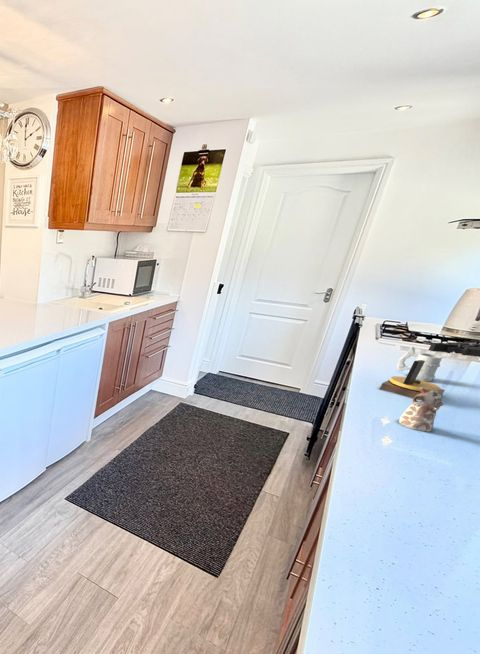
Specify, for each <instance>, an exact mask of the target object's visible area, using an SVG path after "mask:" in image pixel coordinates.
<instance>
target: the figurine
mask: <svg viewBox="0 0 480 654" xmlns="http://www.w3.org/2000/svg"><path fill="white" fill-rule="evenodd" d="M419 390H420V392H421V394H418V395H416V396H415V397H414V398H412V403H411V404H410V405H409V406H408V407H407V408H406V409H405V410H404V412H403V413H402V414H401V416H400V417H399V421H398V422H399V424H400V425H402V426H404V427H406V428H409V429H412V430H416V431H421V432H427V433H428V432H431V431H432V429H433V426H434V424H435V419H436V415H437V412H438V411H439V410H440V408H441V407H442V406H444V403H443V402H442V399H443V397H442V396H440V395H439V393H438V392H437V391H434V390H431V391H429V392H427V391H426V390H425V388H420V389H419ZM419 397H421V398H422V400H418V399H417V398H419Z"/></svg>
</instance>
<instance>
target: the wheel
mask: <svg viewBox="0 0 480 654" xmlns="http://www.w3.org/2000/svg"><path fill="white" fill-rule="evenodd" d="M415 360H416V359H415ZM415 360H414V361H413V363H412V365H411V366H412V367H411V369H409V370H410V371H409V370H408V371H409V373H408V372H407V375H406V376H391V377H390V378H389V380H390V382H392V383H393V384H396V385H398V386H401V387H404V388H408V389H412V390H416V391H420V390H419V389H420V388H425V390H426V391H427V392H429V391H431V390H434V391H437V392H439V391H440V389H442V387H441V386H439V385H437V384H435V383H431V382H430V381H422V380H418V379H416V378H417V376H418V374H419V372H420V370H421V368H422V366H423V364H424V362H425V361H423V360H416V361H415Z"/></svg>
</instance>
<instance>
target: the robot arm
mask: <svg viewBox="0 0 480 654" xmlns="http://www.w3.org/2000/svg"><path fill="white" fill-rule="evenodd" d="M428 351H430V352H435V353H446V354H452V353H454V354H460V355H461V356H467V357H469V356H470V357H478V358H480V343H470V342H468V341H465V342H451V341H450V342H446V343H443V342H431V343H430V345H429V348H428Z"/></svg>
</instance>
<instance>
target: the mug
mask: <svg viewBox="0 0 480 654" xmlns="http://www.w3.org/2000/svg"><path fill="white" fill-rule="evenodd" d="M410 357H415V358H416V359H414V361H416V360H423V361H425V362H424V364H423V366H422V368H421V370H420V372H419V374H418V376H417V378H416V379H418V380H422V381H426V382H432V381H433V379H435V378H436V375H435V374H436V372H437V370H438V368H440V366H441V361H442V359H443V357H442V356H440V355H436V354H432V353H424V352H421V353H416V349H415V347H414V346H410V348H409V349H408V351H407V352H406V353H405V354H403V355H402V356H401V357H400V358H398V362H397V364H396V368H397V371H398V372H401V371H404V370H407V374H408V373H409V371H410V369H411V367H412V365H406V363H405V362H406V360H407V359H408V358H410Z"/></svg>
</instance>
